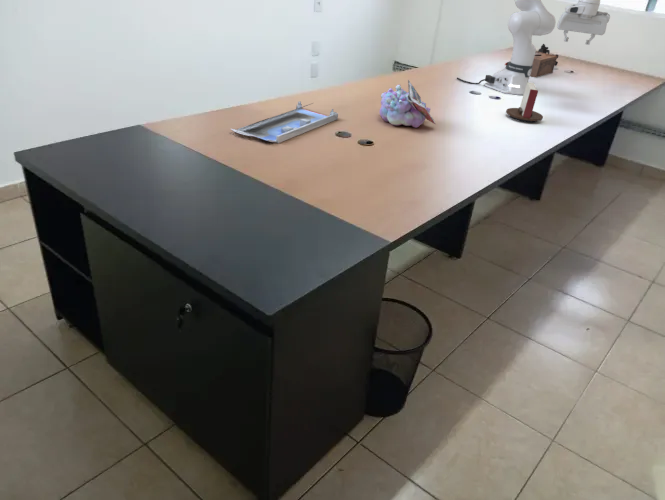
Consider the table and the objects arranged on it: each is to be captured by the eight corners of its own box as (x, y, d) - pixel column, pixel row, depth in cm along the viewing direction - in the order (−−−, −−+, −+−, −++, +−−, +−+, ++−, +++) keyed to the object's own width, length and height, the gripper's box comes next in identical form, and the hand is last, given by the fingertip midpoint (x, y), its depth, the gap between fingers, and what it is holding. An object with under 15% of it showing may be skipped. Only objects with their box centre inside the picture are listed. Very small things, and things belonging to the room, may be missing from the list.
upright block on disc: (504, 107, 253) (512, 79, 247) (539, 112, 252) (548, 84, 245) (507, 117, 240) (515, 87, 233) (545, 123, 238) (554, 93, 232)
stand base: (504, 116, 246) (505, 113, 245) (517, 112, 254) (518, 110, 253) (529, 124, 239) (529, 121, 239) (541, 120, 247) (542, 117, 246)
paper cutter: (337, 119, 218) (339, 105, 215) (267, 147, 184) (268, 131, 181) (300, 108, 225) (301, 94, 222) (226, 133, 191) (226, 117, 188)
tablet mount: (517, 66, 385) (518, 47, 371) (526, 52, 389) (527, 33, 375) (556, 75, 372) (557, 56, 359) (564, 60, 376) (566, 41, 363)
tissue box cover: (530, 67, 351) (535, 51, 346) (552, 72, 343) (557, 56, 338) (513, 71, 333) (517, 54, 328) (535, 77, 326) (540, 59, 321)
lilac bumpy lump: (373, 99, 230) (382, 67, 214) (423, 100, 233) (435, 69, 217) (380, 138, 221) (389, 108, 205) (431, 139, 224) (445, 109, 208)
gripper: (609, 12, 242) (598, 45, 249) (562, 5, 244) (552, 38, 251) (613, 13, 237) (601, 47, 244) (564, 7, 239) (554, 40, 246)
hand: (576, 42), depth 248 cm, fingers open, 8 cm apart
